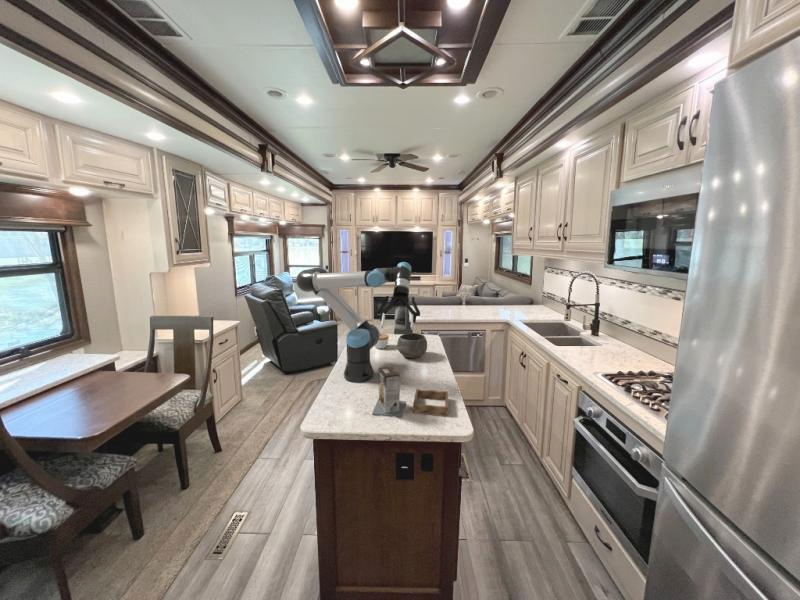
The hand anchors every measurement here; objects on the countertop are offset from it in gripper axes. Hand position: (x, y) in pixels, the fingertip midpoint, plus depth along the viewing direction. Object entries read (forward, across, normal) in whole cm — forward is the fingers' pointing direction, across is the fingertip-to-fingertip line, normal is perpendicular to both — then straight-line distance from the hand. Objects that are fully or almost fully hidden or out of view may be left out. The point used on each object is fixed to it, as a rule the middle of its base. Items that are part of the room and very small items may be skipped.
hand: (396, 327), depth 147 cm
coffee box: (+34, 0, +8) cm, 35 cm away
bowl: (-9, +3, +51) cm, 52 cm away
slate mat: (+34, 0, +8) cm, 35 cm away
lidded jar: (-18, -19, +60) cm, 66 cm away
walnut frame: (+31, +17, +11) cm, 37 cm away
